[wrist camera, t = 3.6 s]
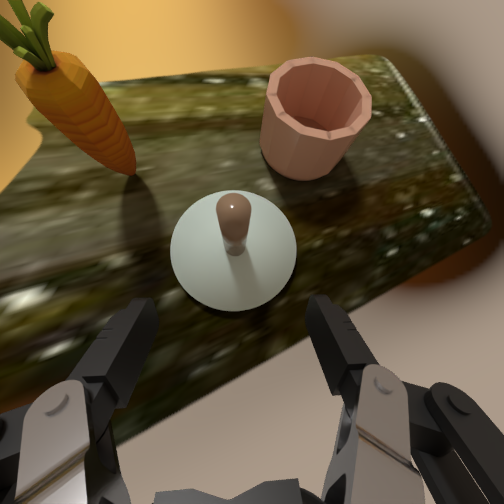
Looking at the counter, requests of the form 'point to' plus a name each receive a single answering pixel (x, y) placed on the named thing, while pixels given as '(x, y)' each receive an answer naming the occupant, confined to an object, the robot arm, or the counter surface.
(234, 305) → the celadon lid
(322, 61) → the terracotta pot
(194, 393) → the counter surface
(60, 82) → the carrot
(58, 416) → the robot arm
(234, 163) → the counter surface
